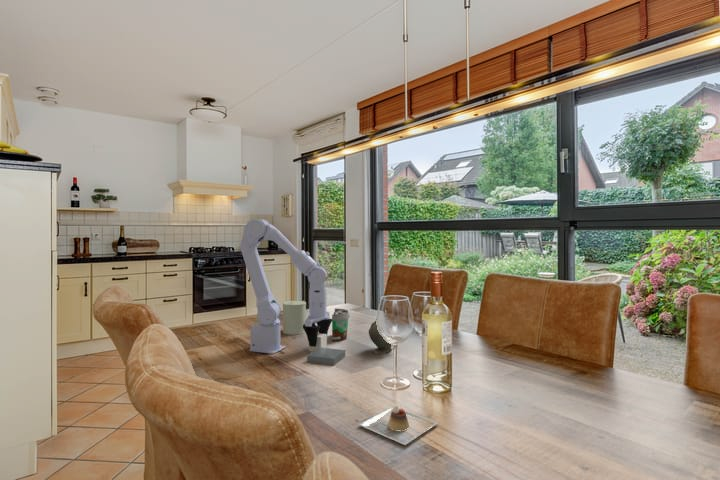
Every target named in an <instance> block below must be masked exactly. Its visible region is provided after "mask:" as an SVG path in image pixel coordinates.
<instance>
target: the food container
mask: <svg viewBox="0 0 720 480" xmlns="http://www.w3.org/2000/svg"><path fill="white" fill-rule="evenodd" d="M350 318H351V314H350V312H349V310H348V309H344V308H334V311H333V314H331V319H332V322H331V326H332V327H331V334H332V335H331V338H332V341H331V343H332V342H334V343H336V342H342V341H346V340H347V339H348V338H347V337H348V325H349V324H348V323H349V319H350Z"/></svg>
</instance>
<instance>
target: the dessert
mask: <svg viewBox="0 0 720 480" xmlns="http://www.w3.org/2000/svg"><path fill="white" fill-rule="evenodd" d="M390 412H391V414H389V415H390V416H389V420H388V423H387V428H388V427H389V428H391V429H393V430H401V431H402V430H405V429H407V428H408V427H409V426H410V424H409V419H408V417H407V416H406V414H407V415H410V416H412V417H415V418H418V419H422V420H424V421H428V422H430V423H434V424H433V425H431V426H430V425H429V426H430V427H429V426H427V427H428V428H427V427H426V428H427V429H426V428H424V429H425V430H424V429H423V430H424V431H423V430H421V431H422V432H421V431H420V432H421V433H420V432H418V433H419V434H418V433H417V434H415V435H416V436H415V435H413V436H412V437H413V438H412V437H411V438H409V439H410V440H409V439H408V440H406V441H407V442H406V441H404V442H402V441H400V440H398V439H395V438H394V437H391V436H389V435H386V434H384V433H381V432H379V431H377V430H374V429H372V428H370V427H369V426H371V425H373V424H374V423H377V422H378V421H379V420H378V419H380V418H381V417H383V416H384V415H386V414H388V413H390ZM383 418H384V417H383ZM377 420H378V421H377ZM380 420H381V419H380ZM372 423H373V424H372ZM370 424H371V425H370ZM438 424H439V421H436V420H433V419H431V418H428V417H425V416H422V415H420V414H417V413H414V412H411V411H408V410H405V409H404V408H402V407H401V405H399V407H398V405H396V406H395V405H392V406H390V407H388V408H386V409H385V410H383V411H380V412H378V413H377V414H375V415H373V416H371V417H369V418H368V419H366V420H363V421H362V422H359V423H358V424H357V426H359V427H362V428H364V429H366V430H369V431H371V432H373V433H375V434H378V435H380V436H382V437H384V438H386V439H389V440H391V441H393V440H394V441H393V442H396V443H398V444H401V445H403V446H406V445H409V444H410V443H412V442H413V441H414V440H416V439H418V438H419V437H420V436H422V435H423V434H425V433H426V432H427V431H429V430H430V429H432V428H433V427H435V426H436V425H438ZM389 428H388V429H389ZM409 428H410V427H409ZM393 430H392V431H393ZM402 432H403V431H402ZM388 436H389V437H388Z"/></svg>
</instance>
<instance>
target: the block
mask: <svg viewBox="0 0 720 480" xmlns="http://www.w3.org/2000/svg"><path fill="white" fill-rule="evenodd" d="M327 337H328V333H327V334H321V333H319V332H318V336H317V344H316V346H315V347H313V346H310V345H309V344H308V352H313V351H315V350H316V349H318V348H320V347H322V348H328V347H327V346H328V345H327V344H328V342H327V341H328V339H327Z"/></svg>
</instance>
